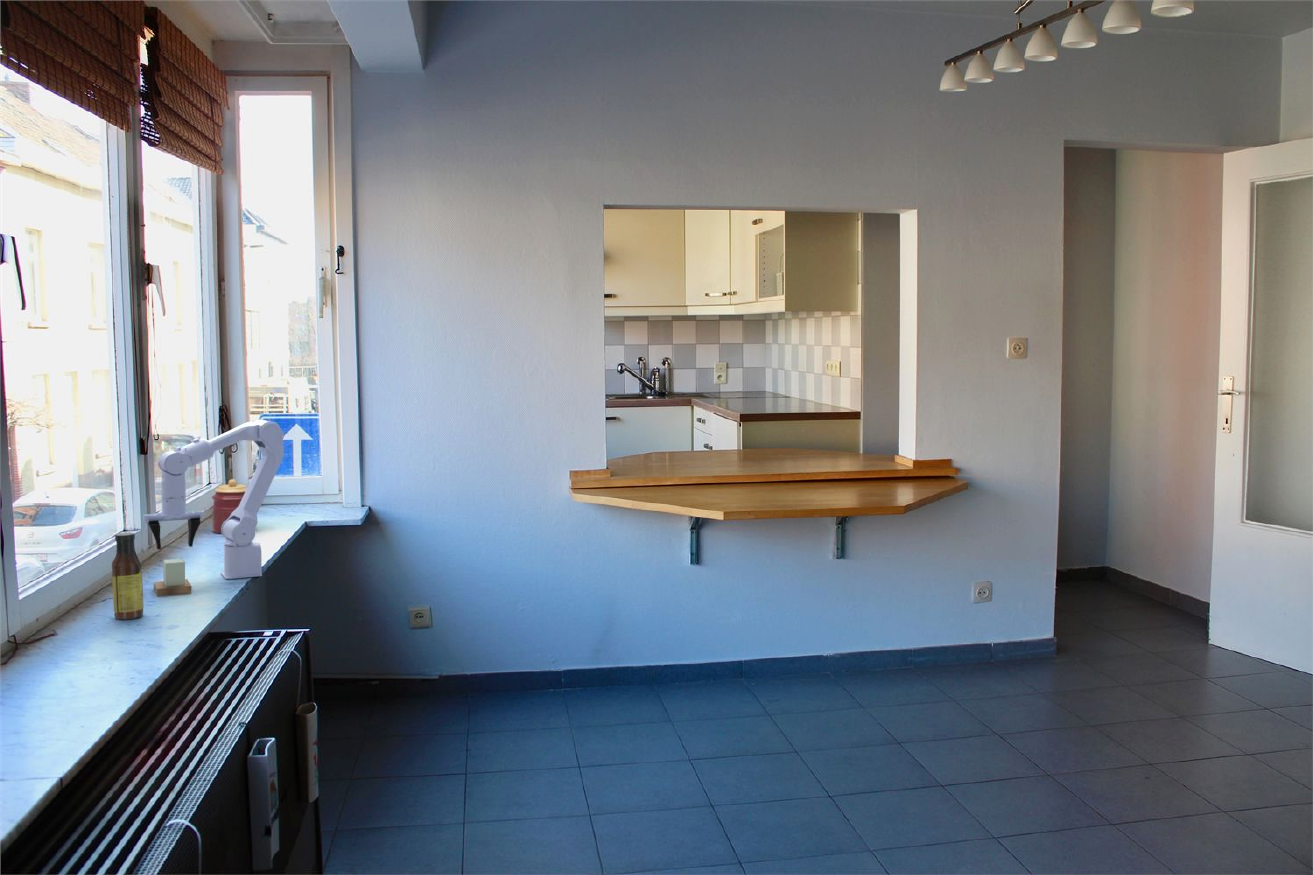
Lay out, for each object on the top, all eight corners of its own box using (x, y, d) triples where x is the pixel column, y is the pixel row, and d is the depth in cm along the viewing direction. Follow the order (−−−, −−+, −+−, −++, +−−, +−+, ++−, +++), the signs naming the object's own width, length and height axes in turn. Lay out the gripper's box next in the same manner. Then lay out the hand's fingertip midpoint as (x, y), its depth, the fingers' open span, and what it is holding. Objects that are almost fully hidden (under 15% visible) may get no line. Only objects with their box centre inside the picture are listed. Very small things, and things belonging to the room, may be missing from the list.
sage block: (182, 580, 264) (182, 558, 263) (185, 584, 260) (184, 561, 259) (163, 582, 261) (163, 559, 261) (165, 586, 257) (165, 563, 257)
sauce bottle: (149, 615, 238) (148, 532, 236) (128, 621, 232) (126, 537, 230) (128, 611, 240) (127, 530, 238) (106, 618, 234) (104, 534, 233)
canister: (243, 535, 334) (243, 482, 333) (205, 533, 334) (204, 481, 333) (259, 527, 347) (259, 477, 346) (222, 526, 347) (222, 476, 346)
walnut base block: (187, 588, 266) (187, 579, 266) (191, 595, 259) (191, 585, 259) (153, 591, 262) (153, 582, 261) (157, 598, 255) (156, 589, 255)
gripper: (145, 500, 259) (146, 552, 260) (206, 497, 267) (206, 547, 268) (141, 496, 265) (142, 547, 266) (201, 493, 273) (202, 542, 274)
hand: (174, 547), depth 267 cm, fingers open, 7 cm apart
